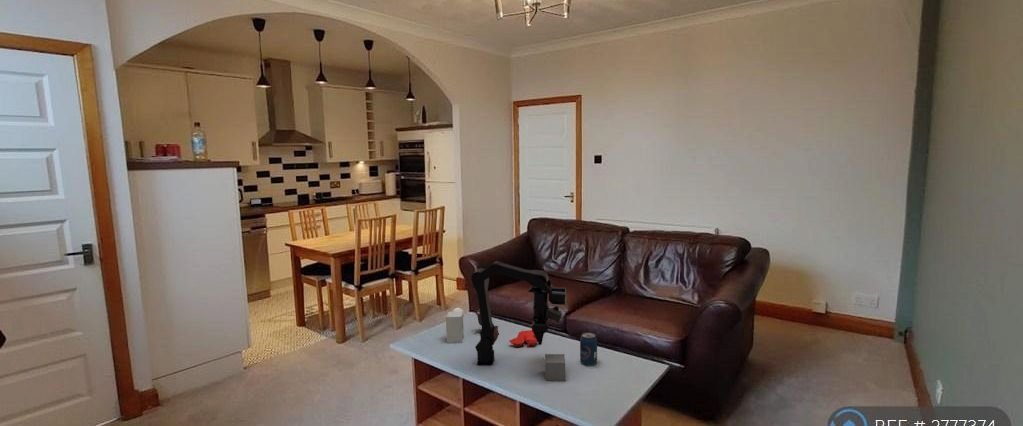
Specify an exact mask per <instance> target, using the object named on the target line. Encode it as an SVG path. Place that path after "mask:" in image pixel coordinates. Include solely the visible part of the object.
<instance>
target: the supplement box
mask: <svg viewBox="0 0 1023 426" xmlns="http://www.w3.org/2000/svg"><path fill="white" fill-rule="evenodd" d="M445 326H446V327H445V329H446V330H445V331H446V343H447V344H450V343H451V344H454V343H455V344H457V343H458V344H461V343H463V339H464V336H465V333H464V331H465V330H464V317H463V312H452V311H448V312H447V314H446V316H445Z"/></svg>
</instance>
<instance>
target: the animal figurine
mask: <svg viewBox="0 0 1023 426" xmlns="http://www.w3.org/2000/svg"><path fill="white" fill-rule="evenodd" d="M508 342H509V343H510V344H511V345H513V346H515V347H521V346H522V345H523V344H524V343H527V345H526V347H527V346H528V347H530V346H535V345H536V344H537V343H538V342H537V339H536V337H535V335H534V333H533V331H532V329H530V330H521V331H519V332H518V334H517V337H514V338H512V339H510V340H508Z"/></svg>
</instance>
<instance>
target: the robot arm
mask: <svg viewBox="0 0 1023 426" xmlns="http://www.w3.org/2000/svg"><path fill="white" fill-rule="evenodd" d="M495 274H500V275H502V276H503V275H504V276H507V277H511V278H515V279H517V280H521V281H524V282H526V283H527V284H528V285H531V287H530V288H529V289H528V293H533V296H532V297H533V298H532V299H533V300H532V301H533V308H532V311H533V312H532V313H533V315H532V316H533V317H532V320H533V322H532V324H531V330H532V331H533V333H534V335H535V337H536V339H537V343H538V346H539V345H542V344H543V340H544V335H545V333H548V331H549V323H548V322H547V321H549V320H552V321H554V322H556V323H560V321H561V318H562V315H563V314H562V313H563V312H562V311H561V310H560V309H559V307H560V306H559V305H563V306H566V305H567V299H568V294H567V287H565V286H563V287H557V286H554V284H553V282H552V281H551V280H550V277H549V274H548V273H547V271H545V270H539V269H525V268H523V267H518V266H514V265H512V264H508V263H504V262H501V261H500V260H499V261H497V260H496V261H494V262H493V263H491V264H490V265H488V266H486V267H485V268H483V267H481V268H478V269H477V270H476V271H474V272H473V273H472V274H471V276H470V279H471V285H472V287H473V289H474V290H475V292H476V296H477V303H478V309H479V310H480V316H481V323H482V326H481V329H480V331H481V334H480V336H479V338H480V340H479V341H478V342H477V344H475V347H474V348H475V350H476V353H477V354H476V357H477V361H476V365H477V366H492V365H493V364H494V362H495V350H494V344H495V343H496V341H497V340H498V338H499V336H500V332H499V326H498V325H494V323H493V319H492V318H493V316H492V312H491V310H492V309H491V305H490V304H491V303H490V297H489V283H490V282H489V281H490V278H491V277H492V276H493V275H495ZM548 302H549V303H550V304H551V305H554V306H553V307H549V303H548Z"/></svg>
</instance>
